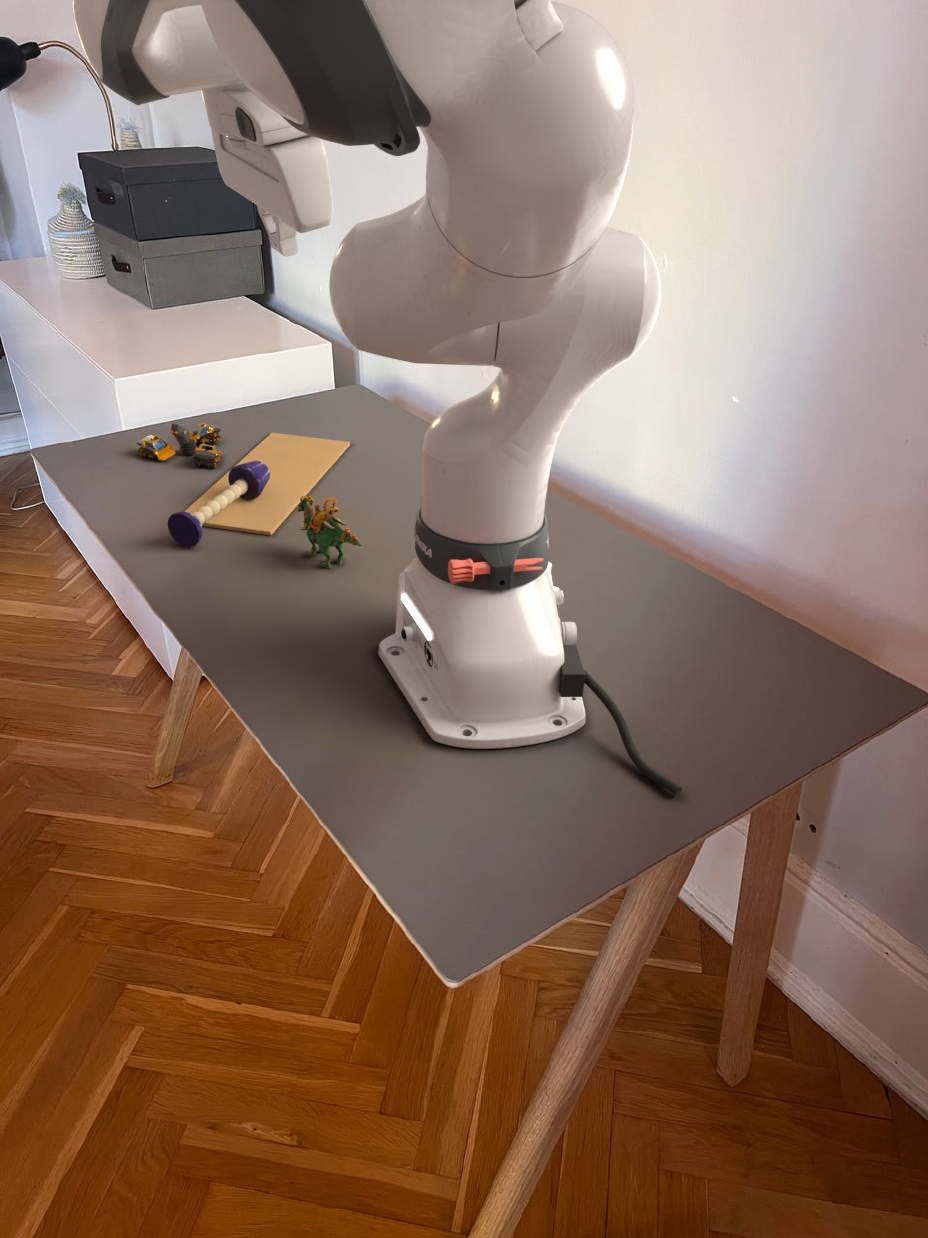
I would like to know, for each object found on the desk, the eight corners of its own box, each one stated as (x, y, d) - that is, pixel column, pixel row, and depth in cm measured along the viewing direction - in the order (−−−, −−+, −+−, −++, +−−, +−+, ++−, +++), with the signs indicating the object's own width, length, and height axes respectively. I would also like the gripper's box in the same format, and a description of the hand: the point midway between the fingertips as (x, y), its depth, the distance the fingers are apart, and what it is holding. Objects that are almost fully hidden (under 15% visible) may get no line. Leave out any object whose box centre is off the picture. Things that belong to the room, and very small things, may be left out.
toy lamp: (207, 548, 103) (280, 488, 116) (197, 511, 101) (272, 454, 114) (172, 546, 105) (247, 487, 118) (161, 509, 102) (239, 453, 115)
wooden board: (271, 535, 107) (270, 531, 107) (176, 522, 109) (176, 518, 109) (350, 445, 132) (350, 441, 132) (272, 435, 134) (271, 432, 134)
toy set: (256, 446, 130) (254, 414, 128) (206, 474, 121) (202, 439, 119) (188, 430, 134) (184, 399, 132) (135, 456, 125) (129, 423, 123)
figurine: (312, 539, 107) (308, 475, 102) (374, 580, 100) (373, 512, 95) (289, 547, 105) (285, 481, 101) (351, 588, 98) (349, 520, 93)
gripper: (182, 87, 89) (219, 231, 98) (264, 129, 76) (298, 291, 85) (242, 74, 91) (273, 216, 100) (332, 112, 78) (358, 272, 87)
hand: (285, 251), depth 93 cm, fingers closed
